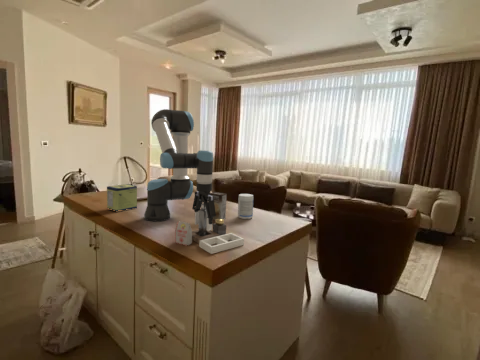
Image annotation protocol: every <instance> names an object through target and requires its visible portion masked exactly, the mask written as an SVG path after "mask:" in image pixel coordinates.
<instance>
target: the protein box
mask: <svg viewBox="0 0 480 360" xmlns="http://www.w3.org/2000/svg"><path fill="white" fill-rule="evenodd" d="M106 203H107V204H106V207H107V208H109V209H112V210H115V211H118V210H126V209H131V210H133V209H132V208H136V209H138V186H137V185H133V184H128V183H125V184H119V185H118V184H117V185H110V186H109V185H108V186H106ZM107 208H106V209H107ZM126 211H127V210H126Z"/></svg>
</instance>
